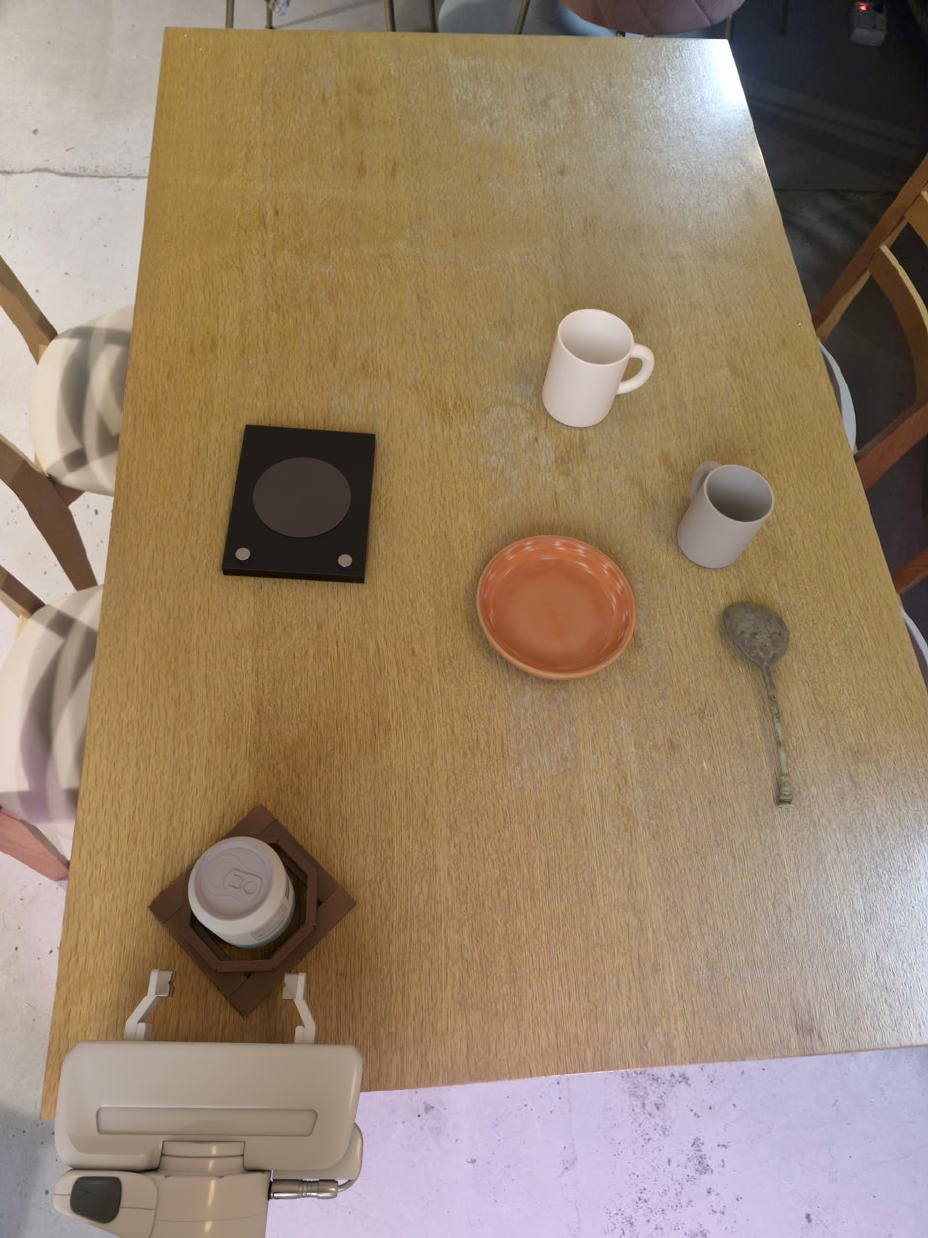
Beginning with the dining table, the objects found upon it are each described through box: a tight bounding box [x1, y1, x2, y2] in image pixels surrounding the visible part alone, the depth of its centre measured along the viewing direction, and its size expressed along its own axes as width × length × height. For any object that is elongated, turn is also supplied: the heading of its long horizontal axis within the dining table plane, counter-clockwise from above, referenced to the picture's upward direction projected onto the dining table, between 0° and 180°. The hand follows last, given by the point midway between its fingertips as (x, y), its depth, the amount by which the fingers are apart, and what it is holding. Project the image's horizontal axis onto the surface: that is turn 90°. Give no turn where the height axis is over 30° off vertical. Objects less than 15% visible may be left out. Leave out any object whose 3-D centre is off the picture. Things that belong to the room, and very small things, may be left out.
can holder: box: [147, 803, 357, 1018], centre depth 70 cm, size 12×12×3 cm
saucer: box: [475, 534, 637, 681], centre depth 85 cm, size 16×16×3 cm
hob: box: [220, 423, 377, 585], centre depth 88 cm, size 18×14×2 cm
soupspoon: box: [723, 602, 798, 809], centre depth 83 cm, size 22×3×7 cm
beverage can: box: [188, 837, 296, 949], centre depth 66 cm, size 7×7×12 cm
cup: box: [676, 459, 776, 569], centre depth 89 cm, size 7×10×9 cm
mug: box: [541, 308, 655, 428], centre depth 95 cm, size 12×8×10 cm
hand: (230, 971), depth 62 cm, fingers open, 8 cm apart
